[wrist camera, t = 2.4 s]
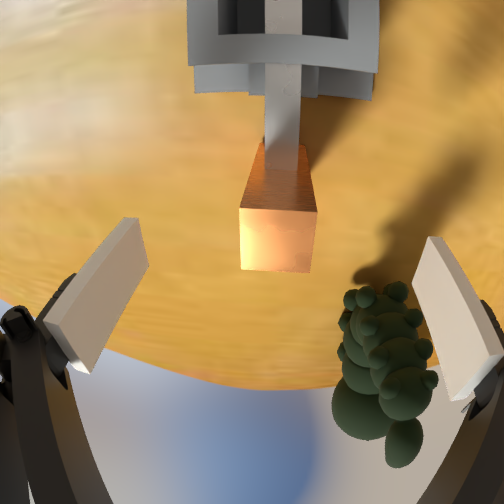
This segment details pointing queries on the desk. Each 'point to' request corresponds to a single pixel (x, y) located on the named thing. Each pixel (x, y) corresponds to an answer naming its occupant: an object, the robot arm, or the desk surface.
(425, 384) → the toy figurine
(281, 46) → the dock
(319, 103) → the desk surface
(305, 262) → the pin
